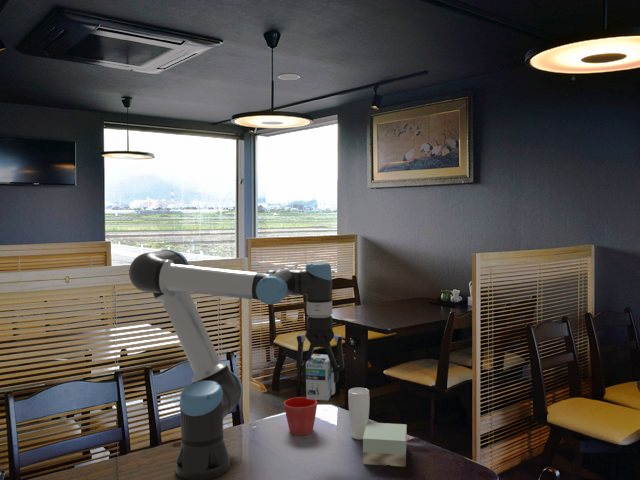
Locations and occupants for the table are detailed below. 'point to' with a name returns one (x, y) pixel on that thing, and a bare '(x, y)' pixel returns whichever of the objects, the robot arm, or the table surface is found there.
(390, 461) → the birch slab
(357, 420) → the drinking glass
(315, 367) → the light bulb box
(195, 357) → the robot arm
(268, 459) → the table surface
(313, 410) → the flower pot
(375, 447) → the sage slab
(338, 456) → the table surface
